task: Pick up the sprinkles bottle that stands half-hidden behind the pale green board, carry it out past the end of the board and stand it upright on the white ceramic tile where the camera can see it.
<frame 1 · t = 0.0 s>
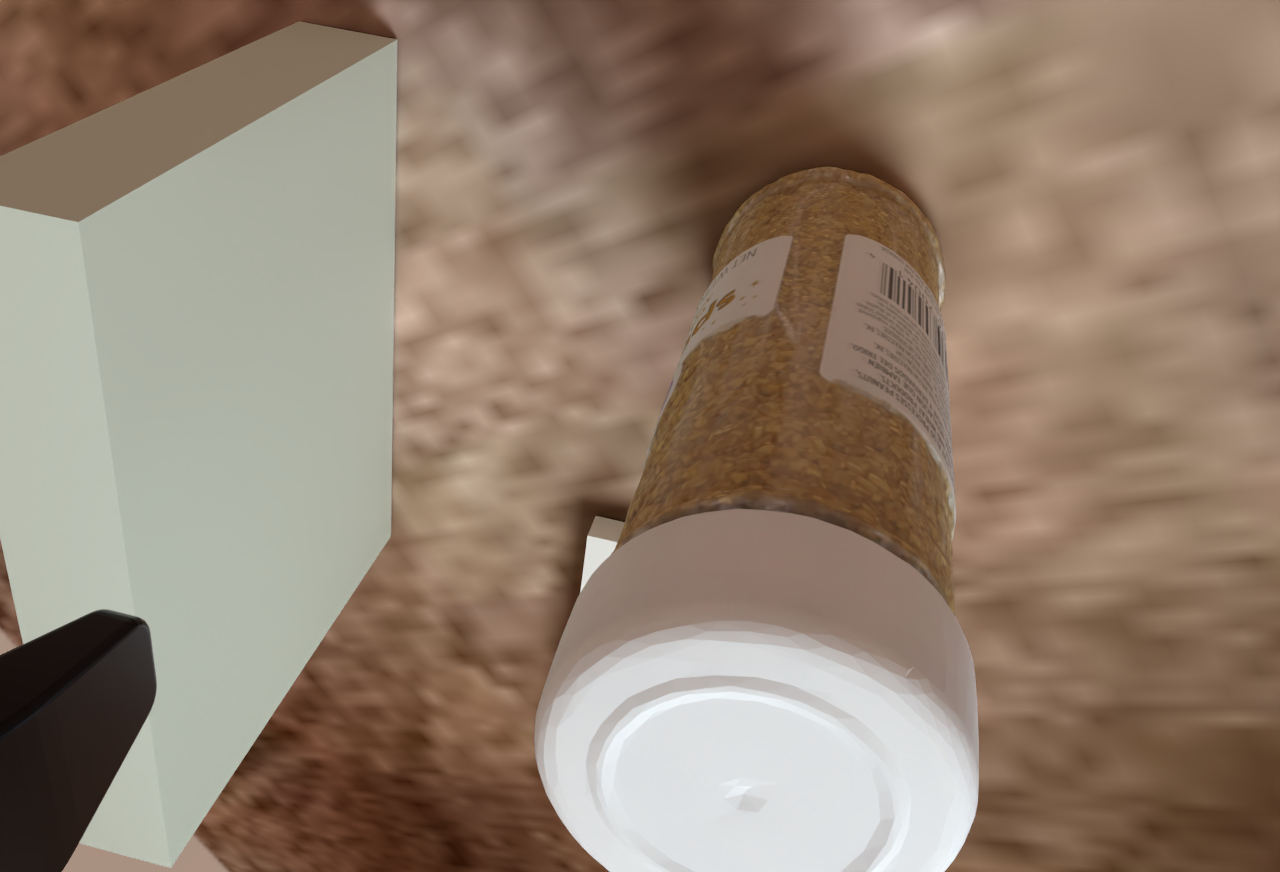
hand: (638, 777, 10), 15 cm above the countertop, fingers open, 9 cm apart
sprinkles bottle: (830, 271, 23), on the countertop
pale green board: (350, 310, 25), on the countertop
tile pad: (735, 680, 29), on the countertop
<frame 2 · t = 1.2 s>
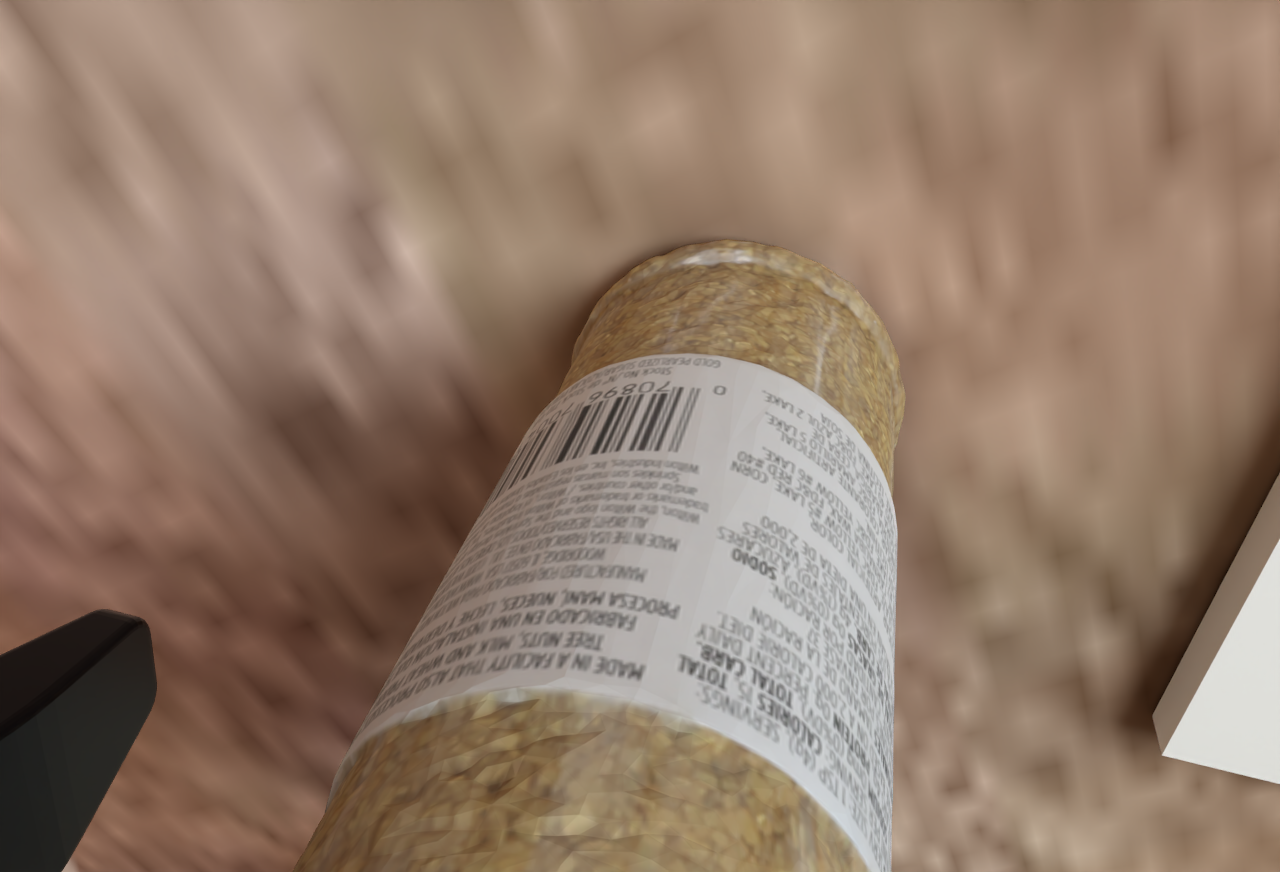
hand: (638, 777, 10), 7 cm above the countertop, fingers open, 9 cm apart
sprinkles bottle: (741, 376, 16), on the countertop
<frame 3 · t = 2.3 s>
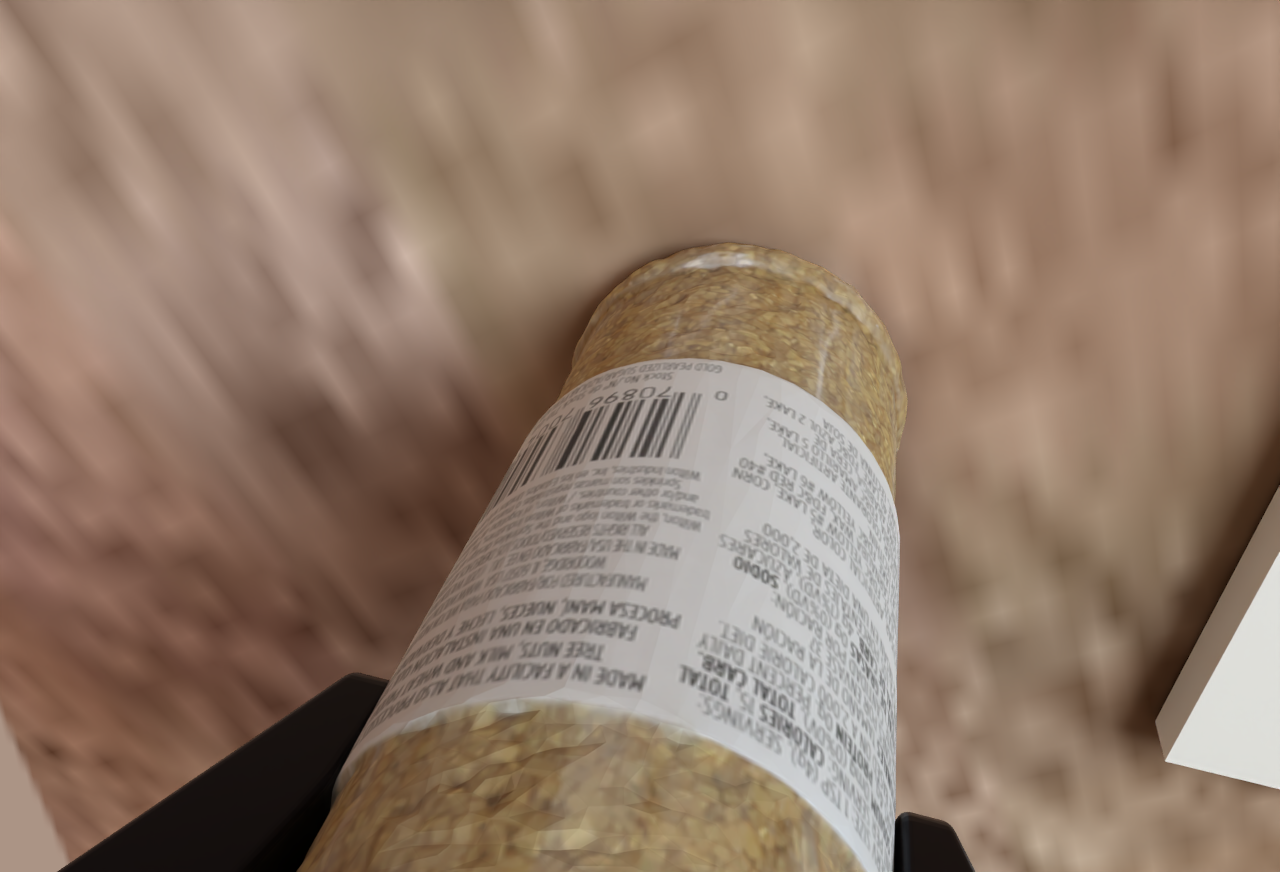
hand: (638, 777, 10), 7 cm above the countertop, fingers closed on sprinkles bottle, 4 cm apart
sprinkles bottle: (743, 380, 16), on the countertop, touching gripper
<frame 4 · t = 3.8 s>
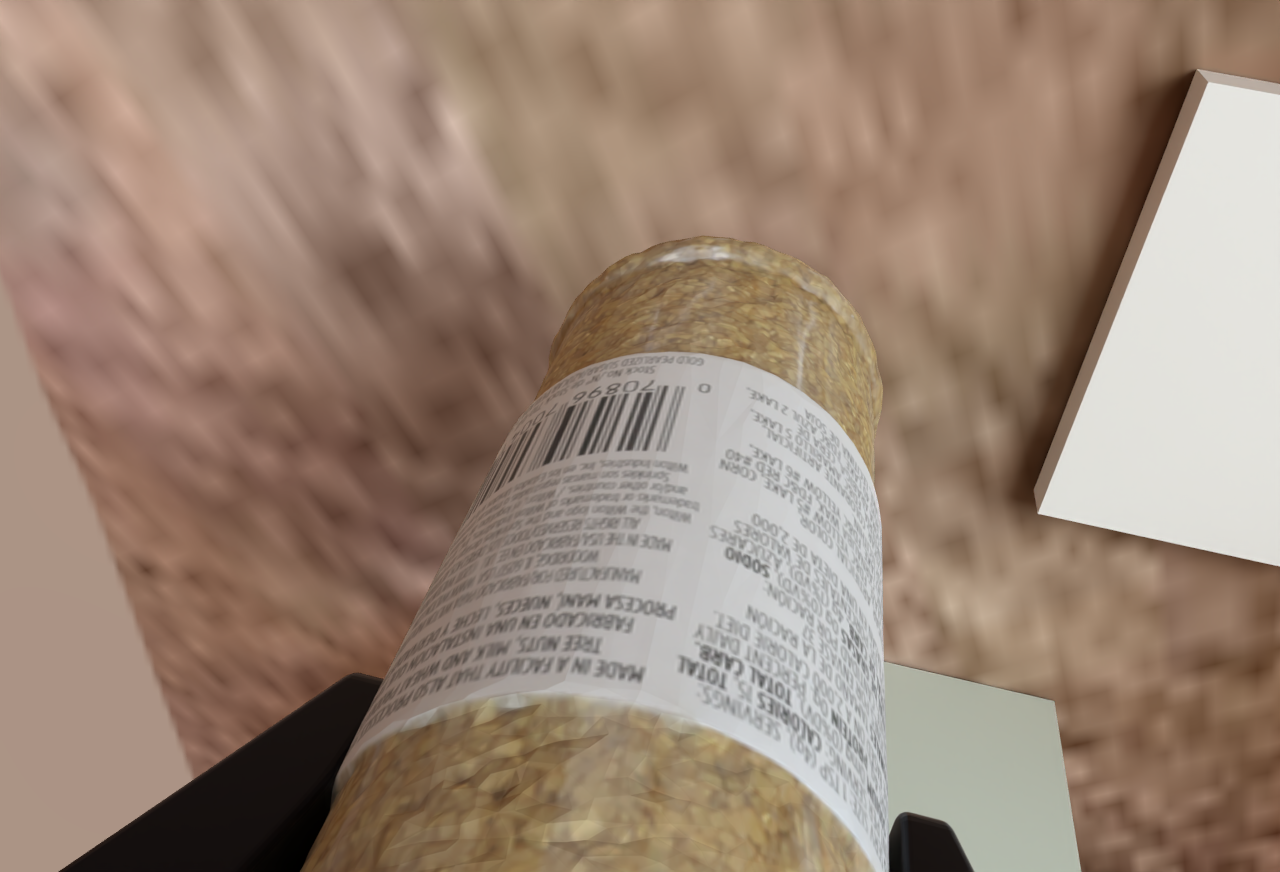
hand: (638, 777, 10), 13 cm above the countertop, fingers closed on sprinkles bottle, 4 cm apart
sprinkles bottle: (719, 372, 16), point 5 cm above the countertop, touching gripper
pale green board: (767, 669, 26), on the countertop
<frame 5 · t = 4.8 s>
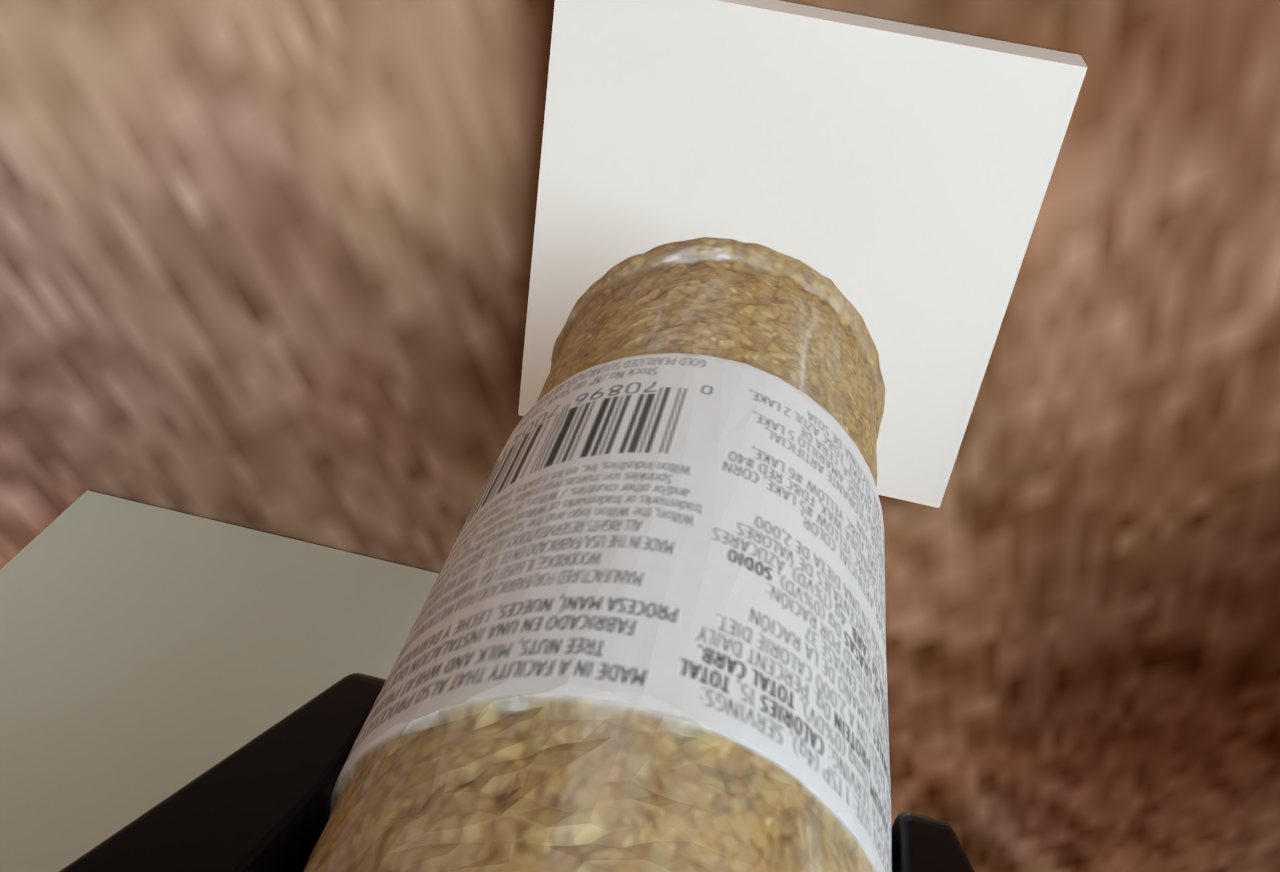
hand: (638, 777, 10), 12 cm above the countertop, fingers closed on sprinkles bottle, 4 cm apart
sprinkles bottle: (721, 374, 16), point 5 cm above the countertop, touching gripper
pale green board: (338, 584, 26), on the countertop
tile pad: (770, 246, 20), on the countertop
when the fingers open (9 cm above the countertop, at t = 5.7 s): sprinkles bottle drops 1 cm, resting on tile pad.
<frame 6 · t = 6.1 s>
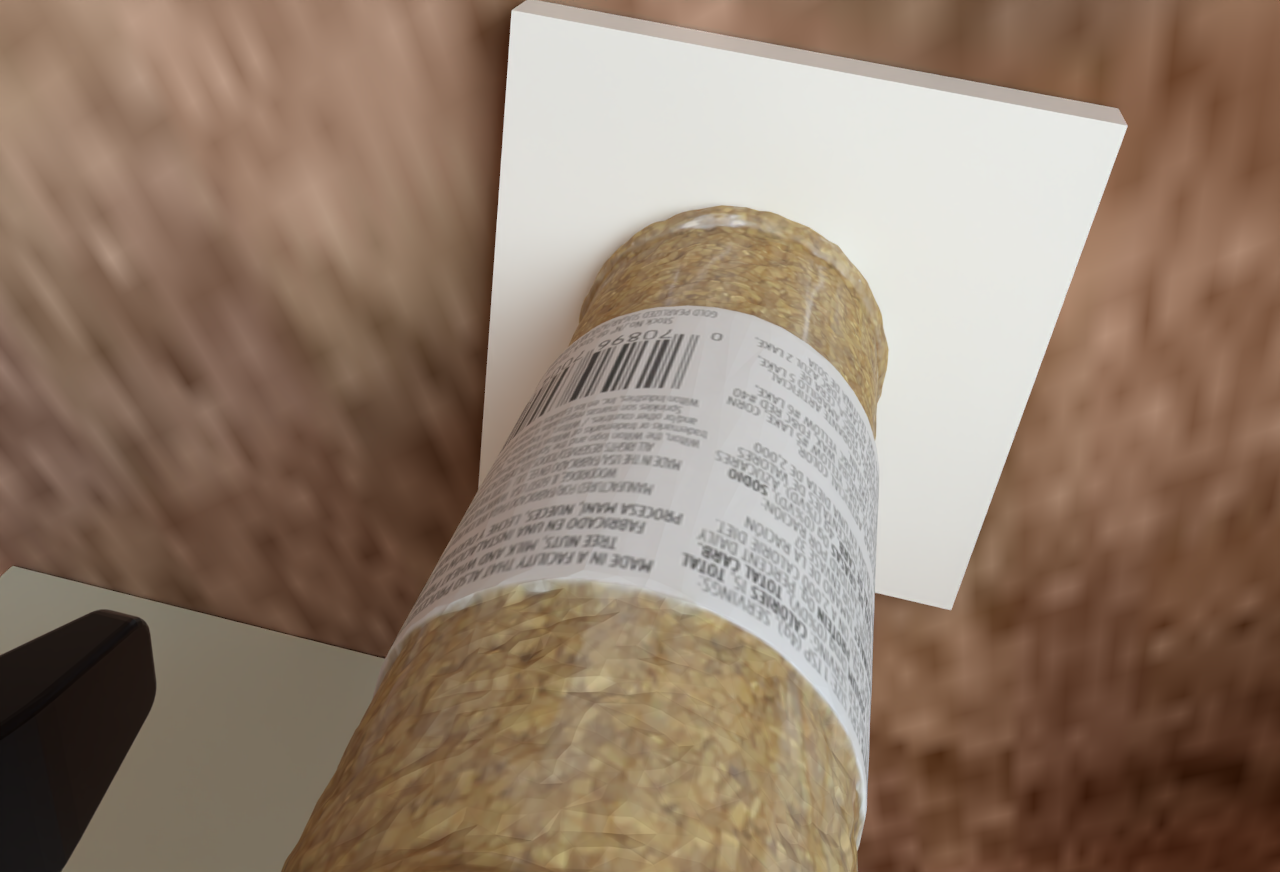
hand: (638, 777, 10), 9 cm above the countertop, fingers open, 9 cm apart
sprinkles bottle: (737, 335, 17), point 1 cm above the countertop, touching tile pad
pale green board: (287, 670, 24), on the countertop
tile pad: (759, 317, 18), on the countertop
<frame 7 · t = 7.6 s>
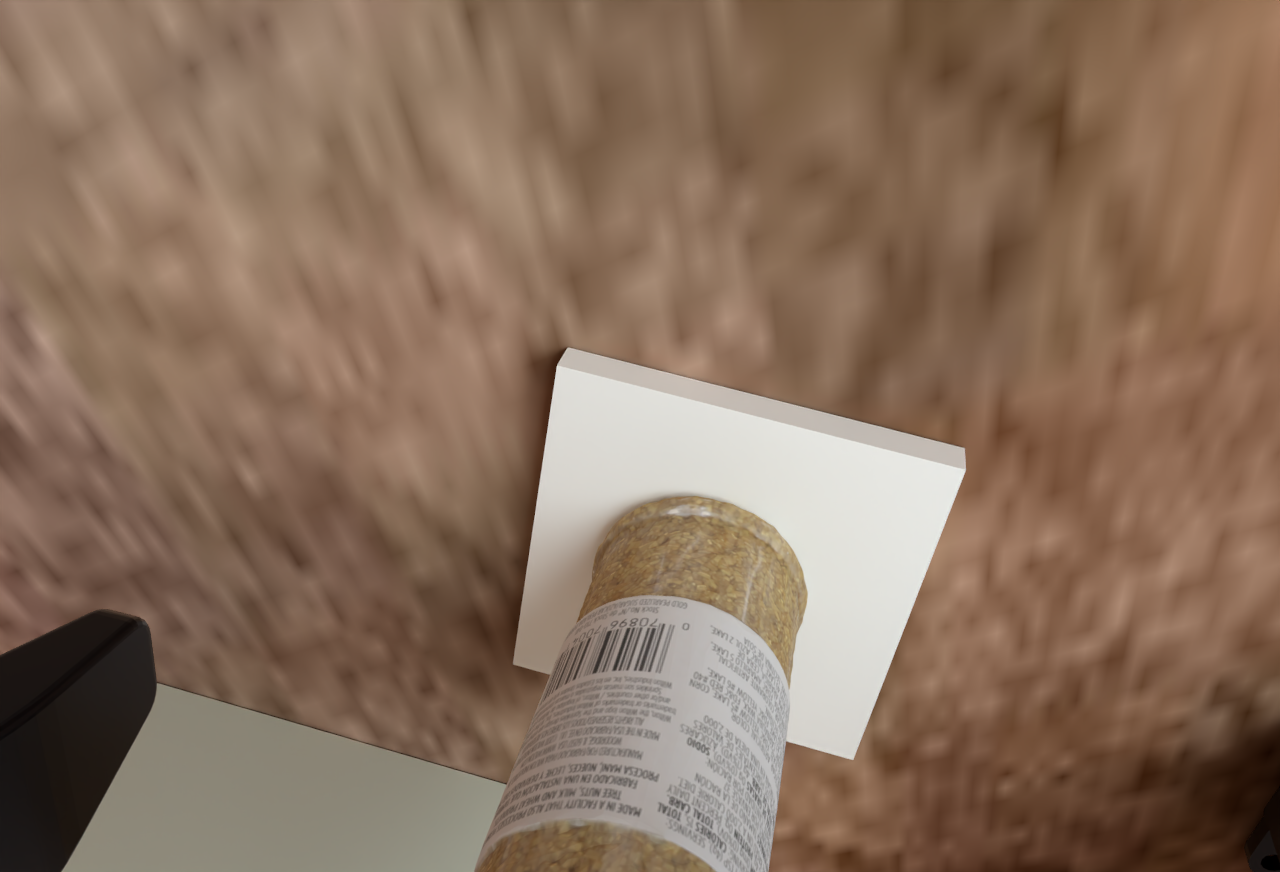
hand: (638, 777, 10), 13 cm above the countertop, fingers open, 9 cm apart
sprinkles bottle: (704, 570, 24), point 1 cm above the countertop, touching tile pad
pale green board: (354, 766, 31), on the countertop
tile pad: (721, 554, 25), on the countertop
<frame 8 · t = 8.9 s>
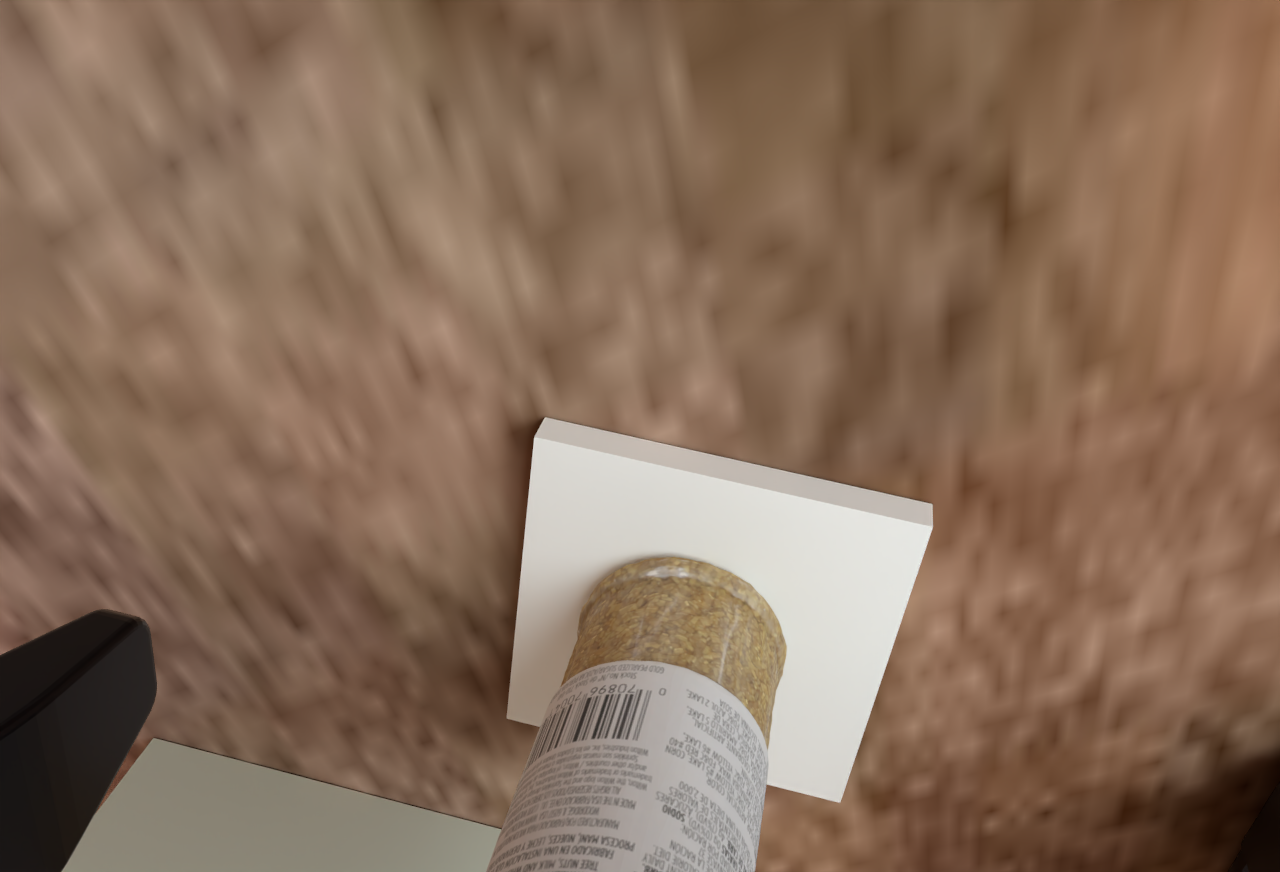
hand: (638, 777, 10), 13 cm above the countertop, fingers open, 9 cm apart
sprinkles bottle: (687, 626, 25), point 1 cm above the countertop, touching tile pad
pale green board: (360, 816, 32), on the countertop
tile pad: (703, 609, 26), on the countertop
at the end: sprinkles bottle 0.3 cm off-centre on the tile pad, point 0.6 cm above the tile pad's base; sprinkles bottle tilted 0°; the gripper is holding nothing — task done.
